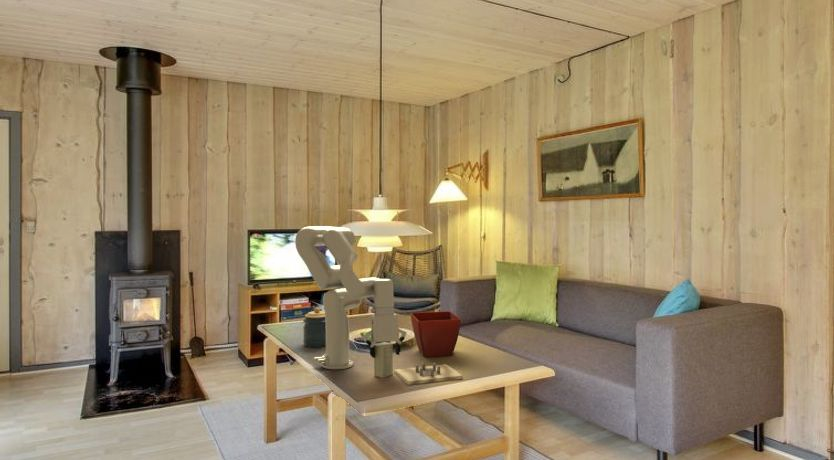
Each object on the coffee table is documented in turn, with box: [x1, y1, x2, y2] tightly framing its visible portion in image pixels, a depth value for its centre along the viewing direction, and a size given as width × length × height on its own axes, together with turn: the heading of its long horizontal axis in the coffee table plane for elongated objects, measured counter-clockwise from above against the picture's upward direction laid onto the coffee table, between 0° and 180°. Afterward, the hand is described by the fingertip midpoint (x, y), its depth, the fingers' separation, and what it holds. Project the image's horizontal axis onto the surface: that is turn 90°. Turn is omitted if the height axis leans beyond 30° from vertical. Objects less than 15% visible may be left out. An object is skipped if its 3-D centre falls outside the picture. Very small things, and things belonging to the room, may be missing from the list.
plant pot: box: [410, 310, 462, 358], centre depth 239 cm, size 19×19×17 cm
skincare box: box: [373, 342, 394, 379], centre depth 206 cm, size 6×4×12 cm
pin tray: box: [393, 361, 464, 386], centre depth 206 cm, size 22×16×4 cm
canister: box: [302, 307, 326, 349], centre depth 254 cm, size 13×13×18 cm
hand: (385, 355), depth 205 cm, fingers open, 9 cm apart
